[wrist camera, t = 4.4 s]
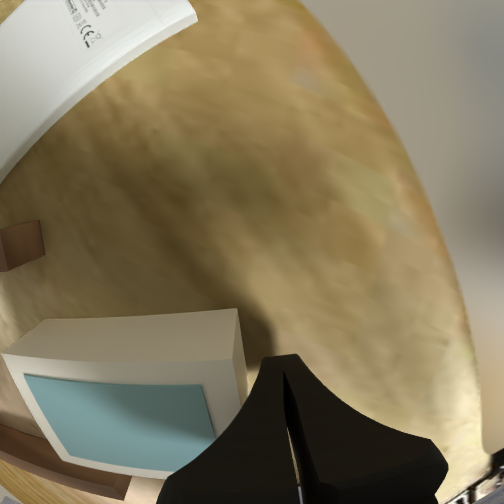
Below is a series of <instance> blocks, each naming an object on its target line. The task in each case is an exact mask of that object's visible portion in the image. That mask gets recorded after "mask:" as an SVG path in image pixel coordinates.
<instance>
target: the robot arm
mask: <svg viewBox="0 0 504 504" xmlns="http://www.w3.org/2000/svg"><path fill="white" fill-rule="evenodd" d="M287 427H288V431H289V435H290V439H291V443H292V447H293V451H294V455H295V459H296V463H297V467H298V472H299V479H300V486H298V484H297V479H296V474H295V469H294V464H293V459H292V454H291V448H290V442H289V437H288V431H287ZM448 470H449V469H448V463H447V461H446V460H445V458H444V456H443V455H442V453H441V452H440V450H439V449H438V448H437V447H436V446H435V444H434V443H433V442H432V441H431V439H427V438H423V437H419V436H415V435H411V434H408V433H404V432H401V431H398V430H395V429H393V428H390V427H388V426H385V425H383V424H381V423H378V422H376V421H374V420H372V419H371V418H369V417H367V416H365V415H363V414H361V413H359V412H358V411H356V410H355V409H353V408H352V407H350V406H349V405H347V404H346V403H345V402H343V401H342V400H341V399H339V398H338V397H337V396H336V395H335V394H333V393H332V392H331V391H330V390H329V389H328V388H327V387H326V386H324V385H323V384H322V382H321V381H320V380H319V379H318V378H317V377H316V376H315V375H314V374H313V373H312V372H311V371H310V370H309V368H308V367H307V366H306V365H305V363H304V362H303V361H302V359H301V358H300V356H299V355H297V354H290V355H281V356H272V357H264V358H263V359H262V362H261V367H260V370H259V373H258V376H257V379H256V381H255V383H254V385H253V388H252V390H251V392H250V394H249V396H248V397H247V399H246V401H245V403H244V404H243V406H242V408H241V409H240V411H239V412H238V414H237V415H236V416H235V418H234V419H233V420H232V422H231V423H230V424H229V426H228V427H227V428H226V429H225V430H224V431H223V433H222V434H221V435H220V436H219V437H218V438H217V439H216V440H215V441H214V442H213V443H212V444H211V445H210V446H209V447H208V448H206V449H205V450H204V451H203V452H202V453H201V454H200V455H198V456H197V457H196V458H195V459H193V460H192V461H191V462H189V463H188V464H186V465H185V466H184V467H182V468H181V469H179V470H177V471H176V472H174V473H173V474H171V475H169V476H168V477H167V479H166V481H165V483H164V485H163V487H162V489H161V492H160V494H159V496H158V499H157V502H156V504H438V501H437V499H436V497H435V493H436V492H437V490H438V489H439V487H440V485H441V484H442V482H443V481H444V479H445V477H446V474H447V472H448ZM1 504H20V503H18V502H16V501H15V500H13V499H11V498H9V497H7V496H5V497H4V499H3V501H2V502H1ZM472 504H504V484H503V485H502V486H500V487H499V488H497V489H496V490H494V491H493V492H491V493H489V494H488V495H486V496H485V497H483V498H481V499H479V500H478V501H476V502H474V503H472Z"/></svg>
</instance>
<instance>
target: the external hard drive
mask: <svg viewBox="0 0 504 504" xmlns="http://www.w3.org/2000/svg"><path fill="white" fill-rule="evenodd" d="M196 22H198V19H197V16H196V12H195V10H194V9H193V7H192V6H191V4H190V3H189V2H188V0H25V1H24V2H22V3H21V4H20V5H19V6H18V7H17V8H16V9H15V10H14V11H13V12H12V13H11V14H10V15H9V16H8V17H7V18H6V19H5V20H4V21H3V22H2V24H1V25H0V184H1V182H2V181H3V180H4V179H5V177H6V176H7V175H8V174H9V172H10V171H11V170H12V169H13V168H14V166H15V165H16V164H17V163H18V162H19V161H20V159H21V158H22V157H23V156H24V155H25V154H26V153H27V152H28V150H29V149H30V148H31V147H32V146H33V145H34V144H35V143H36V142H37V141H38V140H39V139H40V138H41V137H42V136H43V135H44V134H45V133H46V132H47V131H48V130H49V129H50V128H51V127H52V126H53V125H54V124H55V123H56V122H57V121H58V120H59V119H60V118H61V117H62V116H63V115H64V114H66V113H67V112H68V111H69V110H70V109H71V108H72V107H73V106H74V105H76V104H77V103H78V102H79V101H80V100H81V99H82V98H84V97H85V96H86V95H87V94H89V93H90V92H91V91H92V90H93V89H95V88H96V87H97V86H98V85H100V84H101V83H102V82H103V81H105V80H106V79H107V78H109V77H110V76H111V75H113V74H114V73H115V72H117V71H118V70H120V69H121V68H122V67H124V66H125V65H127V64H128V63H129V62H131V61H132V60H134V59H135V58H137V57H138V56H140V55H141V54H143V53H144V52H146V51H147V50H149V49H151V48H152V47H154V46H155V45H157V44H159V43H160V42H162V41H164V40H165V39H167V38H169V37H170V36H172V35H174V34H176V33H177V32H179V31H181V30H183V29H185V28H187V27H188V26H190V25H192V24H194V23H196Z"/></svg>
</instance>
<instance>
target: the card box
mask: <svg viewBox="0 0 504 504" xmlns="http://www.w3.org/2000/svg"><path fill="white" fill-rule="evenodd" d="M1 354H2V356H3V358H4V361H5V363H6V365H7V367H8V369H9V372H10V374H11V376H12V378H13V380H14V382H15V384H16V386H17V388H18V390H19V392H20V394H21V396H22V398H23V399H24V401H25V403H26V405H27V407H28V408H29V410H30V412H31V414H32V415H33V417H34V419H35V420H36V422H37V424H38V425H39V427H40V428H41V430H42V432H43V433H44V435H45V436H46V438H47V439H48V441H49V442H50V444H51V445H52V447H53V448H54V450H55V451H56V452H57V454H58V455H59V457H60V458H61V459H62V461H66V462H69V463H73V464H77V465H81V466H85V467H89V468H94V469H99V470H103V471H108V472H114V473H119V474H126V475H132V476H139V477H147V478H156V479H167V477H168V476H169V475H171V474H173V473H174V472H176V471H177V470H179V469H181V468H182V467H184V466H185V465H186V464H188V463H189V462H191V461H192V460H193V459H195V458H196V457H197V456H198V455H200V454H201V453H202V452H203V451H204V450H205V449H206V448H208V447H209V446H210V445H211V444H212V443H213V442H214V441H215V440H216V439H217V438H218V437H219V436H220V435H221V434H222V433H223V431H224V430H225V429H226V428H227V427H228V426H229V424H230V423H231V422H232V420H233V419H234V418H235V416H236V415H237V414H238V412H239V411H240V409H241V408H242V406H243V404H244V403H245V401H246V399H247V397H248V396H249V394H250V387H249V381H248V375H247V369H246V362H245V356H244V349H243V343H242V336H241V330H240V323H239V316H238V310H237V308H232V309H222V310H211V311H200V312H187V313H174V314H160V315H144V316H126V317H105V318H73V319H44V320H43V321H42V322H40V323H39V324H38V325H37V326H35V327H34V328H33V329H31V330H30V331H29V332H27V333H26V334H25V335H24V336H22V337H21V338H20V339H19V340H17V341H16V342H15V343H14V344H12V345H11V346H10V347H9V348H7V349H6V350H5V351H4V352H2V353H1Z"/></svg>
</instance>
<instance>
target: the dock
mask: <svg viewBox="0 0 504 504" xmlns="http://www.w3.org/2000/svg"><path fill="white" fill-rule="evenodd" d="M44 255H45V252H44V247H43V242H42V236H41V231H40V225H39V220H36V221H32V222H28V223H24V224H20V225H16V226H12V227H8V228H4V229H1V230H0V272H5V271H10V270H12V269H14V268H16V267H18V266H21V265H23V264H25V263H27V262H30V261H32V260H34V259H37V258H39V257H41V256H44ZM0 459H1V460H3V461H5V462H7V463H9V464H12V465H14V466H16V467H18V468H20V469H23V470H25V471H27V472H30V473H32V474H35V475H37V476H40V477H42V478H45V479H48V480H51V481H53V482H56V483H59V484H62V485H65V486H68V487H71V488H75V489H78V490H81V491H85V492H89V493H92V494H96V495H100V496H104V497H109V498H113V499H118V500H123V501H124V498H125V495H126V492H127V490H128V487H129V484H130V481H131V478H132V475H126V474H119V473H114V472H108V471H103V470H99V469H94V468H89V467H85V466H81V465H77V464H73V463H69V462H66V461H62V459H61V458H60V457H59V455H58V454H57V452H56V451H55V450H54V448H53V447H52V445H51V444H50V442H49V441H48V440H44V439H41V438H38V437H34V436H31V435H28V434H25V433H22V432H19V431H16V430H14V429H11V428H8V427H5V426H3V425H0Z"/></svg>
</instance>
